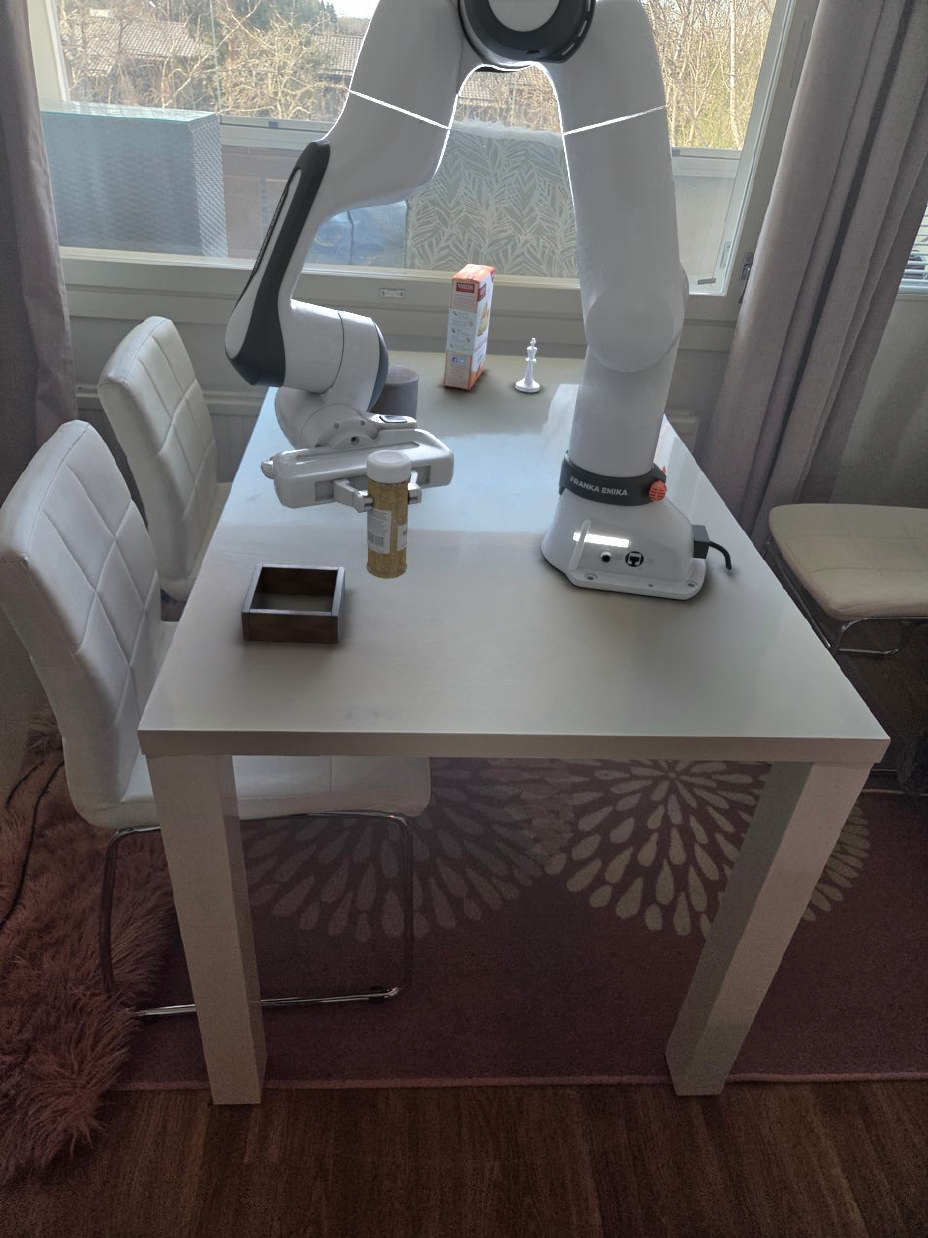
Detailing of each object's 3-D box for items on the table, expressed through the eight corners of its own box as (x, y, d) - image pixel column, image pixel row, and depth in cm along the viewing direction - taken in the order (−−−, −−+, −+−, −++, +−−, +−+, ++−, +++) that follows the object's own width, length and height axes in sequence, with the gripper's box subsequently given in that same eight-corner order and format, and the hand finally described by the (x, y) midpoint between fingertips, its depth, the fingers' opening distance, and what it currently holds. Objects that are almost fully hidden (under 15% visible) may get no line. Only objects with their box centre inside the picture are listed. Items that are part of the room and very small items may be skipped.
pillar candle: (347, 461, 138) (347, 369, 130) (367, 439, 146) (368, 351, 138) (405, 471, 137) (409, 378, 129) (422, 448, 145) (427, 360, 136)
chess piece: (543, 388, 175) (550, 338, 169) (532, 394, 171) (538, 343, 166) (522, 382, 177) (528, 333, 171) (510, 388, 173) (516, 338, 168)
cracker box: (471, 391, 170) (481, 281, 158) (442, 386, 171) (449, 276, 159) (486, 370, 181) (496, 265, 170) (458, 366, 182) (466, 261, 170)
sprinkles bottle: (414, 574, 95) (419, 461, 87) (378, 584, 93) (380, 469, 85) (393, 555, 98) (397, 444, 90) (358, 564, 96) (358, 452, 88)
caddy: (345, 593, 106) (345, 567, 104) (338, 643, 98) (337, 616, 95) (258, 589, 106) (256, 563, 103) (243, 640, 97) (240, 612, 95)
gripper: (253, 434, 93) (294, 488, 84) (424, 414, 102) (478, 461, 92) (257, 487, 97) (296, 544, 87) (421, 464, 106) (474, 514, 96)
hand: (391, 501), depth 90 cm, fingers closed on sprinkles bottle, 4 cm apart
